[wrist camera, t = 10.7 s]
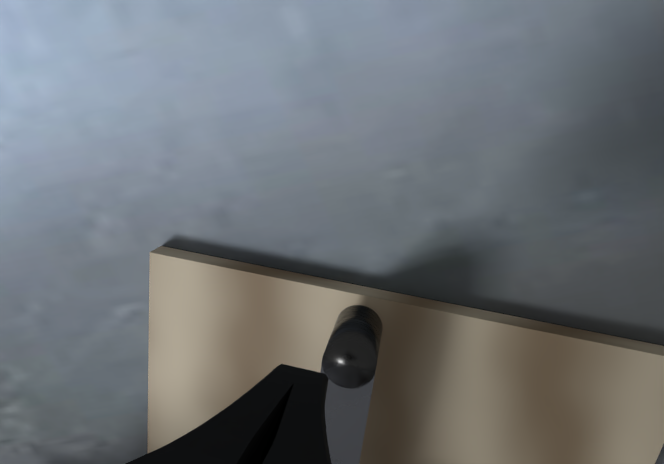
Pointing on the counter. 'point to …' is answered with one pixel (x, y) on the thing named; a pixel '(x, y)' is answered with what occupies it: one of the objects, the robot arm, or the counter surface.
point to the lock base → (402, 368)
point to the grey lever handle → (350, 380)
